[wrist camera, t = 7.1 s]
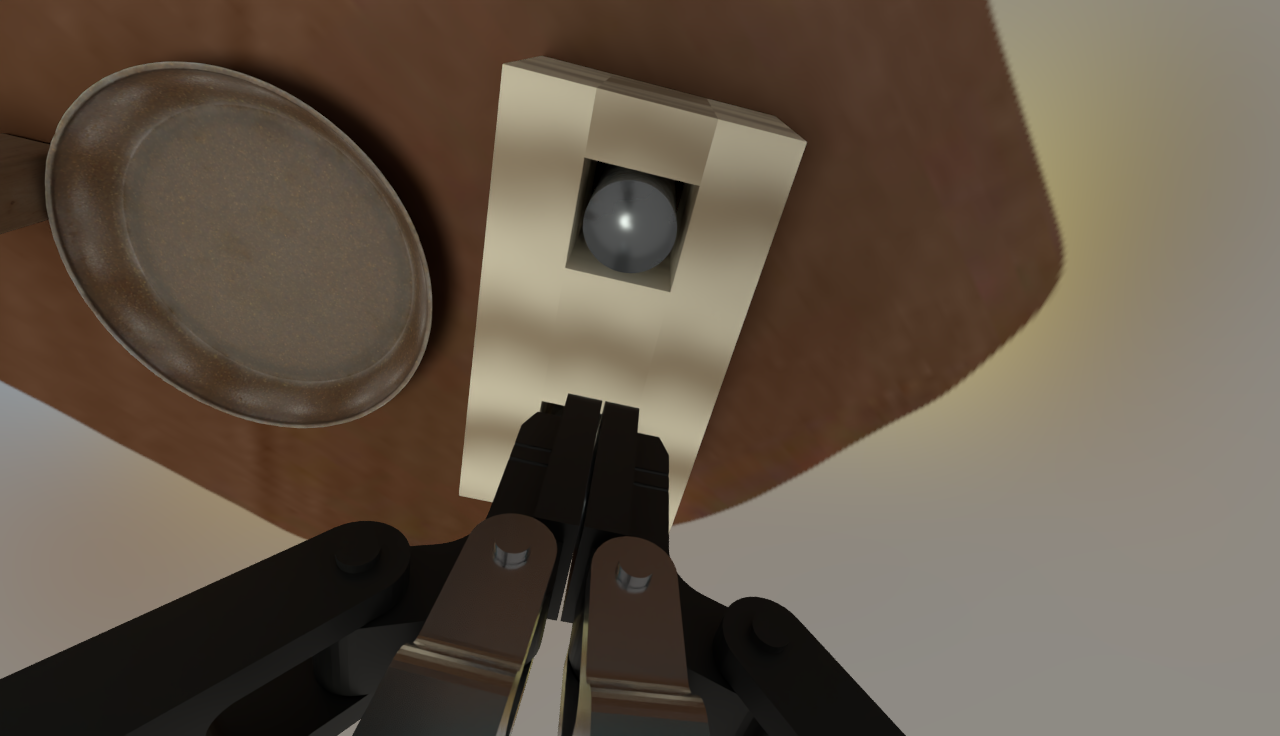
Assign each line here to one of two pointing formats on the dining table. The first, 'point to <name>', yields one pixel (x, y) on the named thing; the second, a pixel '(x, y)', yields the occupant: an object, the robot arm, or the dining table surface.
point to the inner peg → (631, 219)
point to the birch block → (601, 297)
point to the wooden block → (22, 182)
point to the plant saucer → (238, 244)
